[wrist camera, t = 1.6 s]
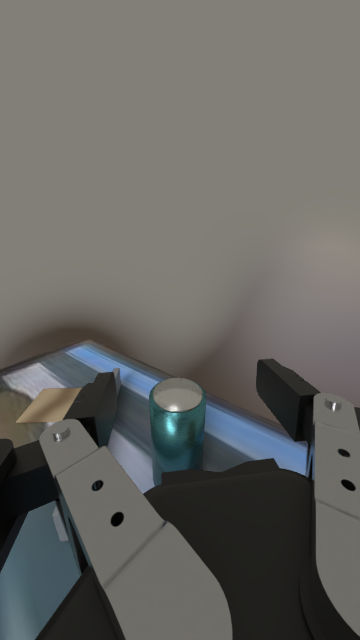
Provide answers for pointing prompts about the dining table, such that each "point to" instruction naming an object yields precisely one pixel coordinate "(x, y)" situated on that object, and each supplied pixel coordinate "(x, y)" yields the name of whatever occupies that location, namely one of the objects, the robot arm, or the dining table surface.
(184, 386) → the can
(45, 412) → the coaster
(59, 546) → the dining table surface
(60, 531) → the acrylic wall
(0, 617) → the dining table surface
